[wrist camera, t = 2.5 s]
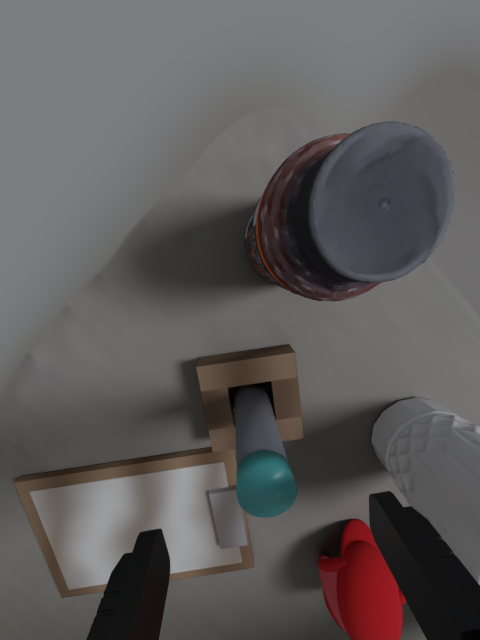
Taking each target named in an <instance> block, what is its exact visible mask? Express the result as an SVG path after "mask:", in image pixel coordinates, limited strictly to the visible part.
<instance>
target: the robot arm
mask: <svg viewBox="0 0 480 640" xmlns="http://www.w3.org/2000/svg"><path fill="white" fill-rule="evenodd" d="M369 515H370V528H371V532H372V535H373V538H374V540H375V543H376V545H377V547H378V549H379V551H380V552H381V554H382V556H383V558H384V560H385V562H386V564H387V565H388V567H389V569H390V571H391V573H392V575H393V577H394V579H395V580H396V582H397V584H398V586H399V588H400V590H401V592H402V594H403V595H404V597H405V599H406V601H407V603H408V605H409V607H410V609H411V610H412V612H413V614H414V616H415V618H416V620H417V622H418V624H419V625H420V627H421V629H422V631H423V633H424V635H425V637H426V639H427V640H480V585H479V584H478V583H477V581H476V580H475V579H474V577H473V576H472V575H471V574H470V572H469V571H468V570H467V569H466V567H465V566H464V565H463V563H462V562H461V561H460V560H459V558H458V557H457V556H455V555H454V553H453V551H452V550H451V548H450V547H449V546H448V544H447V543H446V542H445V541H444V540H443V539H442V537H441V536H440V534H439V533H438V532H437V530H436V529H435V528H434V527H433V525H432V524H431V523H430V522H429V520H428V519H427V518H425V517H424V516H423V515H422V514H420V513H419V512H418V511H417V510H415V509H414V508H413V507H412V506H409V507H403V506H402V505H401V504H400V502H399V501H398V500H397V498H396V497H395V496H394V494H393V493H392V492H390V491H387V492H381V493H375V494H370V495H369ZM169 579H170V557H169V553H168V549H167V546H166V542H165V538H164V535H163V531H162V529H154V530H148V531H142V532H140V533H139V535H138V537H137V539H136V543H135V546H134V549H133V552H131V553H125V554H123V556H122V557H121V559H120V560H119V562H118V563H117V565H116V566H115V568H114V569H113V571H112V572H111V575H110V578H109V580H108V583H107V586H106V589H105V591H104V596H103V598H102V599H101V602H100V605H99V607H98V610H97V615H96V617H95V618H94V621H93V624H92V626H91V629H90V632H89V634H88V637H87V640H159V635H160V629H161V623H162V618H163V612H164V607H165V601H166V596H167V590H168V585H169Z"/></svg>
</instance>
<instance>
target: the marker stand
mask: <svg viewBox="0 0 480 640" xmlns="http://www.w3.org/2000/svg"><path fill="white" fill-rule="evenodd" d="M196 369H197V374H198V379H199V384H200V389H201V395H202V400H203V405H204V410H205V415H206V420H207V425H208V431H209V436H210V441H211V446H212V451H213V452H217V451H224V450H231V449H236V433H235V412H234V413H233V407H232V401H231V395H230V389H229V387H235V386H242V385H249V384H255V383H262V382H269V385H270V393H271V401H272V410H273V413H274V416H275V420H276V423H277V426H278V430H279V433H280V436H281V440H282V442H283V441H289V440H296V439H302V438H304V437H303V427H302V417H301V407H300V396H299V386H298V376H297V366H296V355H295V351H294V350H293V349H292V347H291V346H290V345H289V344H288V345H281V346H275V347H268V348H261V349H254V350H248V351H241V352H234V353H228V354H221V355H214V356H207V357H201V358H199V360H198V363H197V366H196Z"/></svg>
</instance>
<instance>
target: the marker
mask: <svg viewBox="0 0 480 640" xmlns="http://www.w3.org/2000/svg"><path fill="white" fill-rule="evenodd" d="M234 406H235V433H236V461H237V471H236V492H237V500H238V503H239V505H240V506H241V507H242V509H243V510H245V511H246V512H247V513H249V514H251V515H253V516H257V517H273V516H276V515H279V514H281V513H283V512H285V511H286V510H287V509H288V508H289V507H290V506H291V505H292V504H293V502H294V501H295V498H296V495H297V486H296V483H295V479H294V476H293V473H292V470H291V466H290V464H289V462H288V460H287V456H286V453H285V450H284V446H283V443H282V440H281V436H280V433H279V430H278V426H277V423H276V420H275V416H274V413H273V410H272V406H271V403H270V400H269V396H268V393H267V391H266V389H265V388H264V387H263V386H261V385H260V384H257V383H255V384H249V385H242V386H241V387H239V388H238V390H237V391H236V393H235V396H234Z"/></svg>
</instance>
